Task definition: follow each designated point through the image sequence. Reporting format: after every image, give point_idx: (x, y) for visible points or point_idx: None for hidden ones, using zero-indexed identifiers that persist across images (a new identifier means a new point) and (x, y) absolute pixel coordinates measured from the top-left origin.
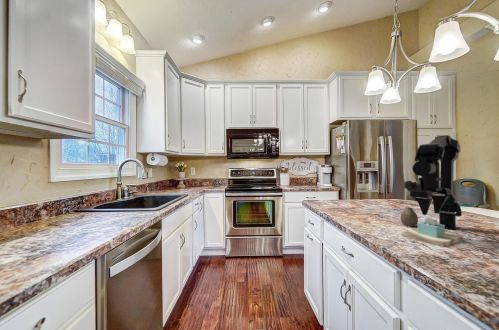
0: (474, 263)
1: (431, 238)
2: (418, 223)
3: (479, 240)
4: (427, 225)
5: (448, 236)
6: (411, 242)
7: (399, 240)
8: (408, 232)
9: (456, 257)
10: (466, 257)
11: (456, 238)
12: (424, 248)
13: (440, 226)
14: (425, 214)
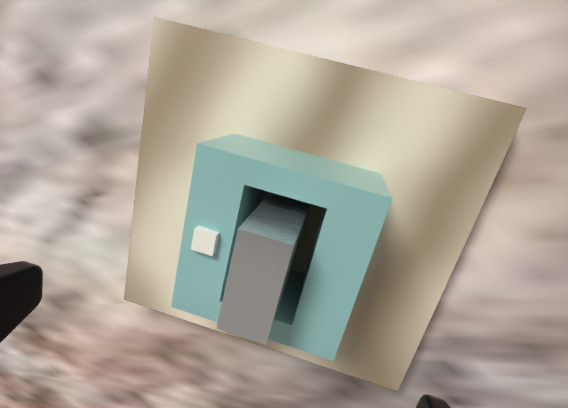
0: (26, 381)
1: (160, 238)
2: (201, 151)
3: None
4: (182, 238)
5: None
6: (70, 131)
7: (43, 56)
8: (192, 66)
9: (34, 334)
10: (70, 364)
11: (300, 358)
12: (29, 213)
13: None
14: (17, 299)
